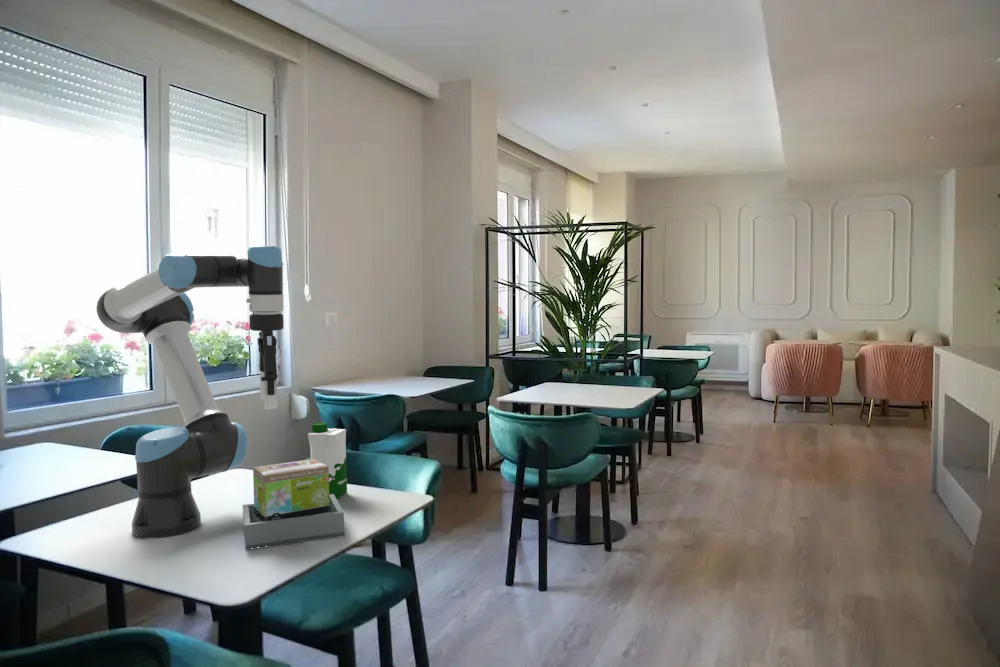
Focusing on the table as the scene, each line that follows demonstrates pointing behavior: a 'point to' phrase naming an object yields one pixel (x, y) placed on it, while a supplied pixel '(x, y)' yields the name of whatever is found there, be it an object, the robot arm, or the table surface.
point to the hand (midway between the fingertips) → (268, 403)
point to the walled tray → (293, 527)
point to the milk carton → (330, 455)
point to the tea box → (290, 490)
